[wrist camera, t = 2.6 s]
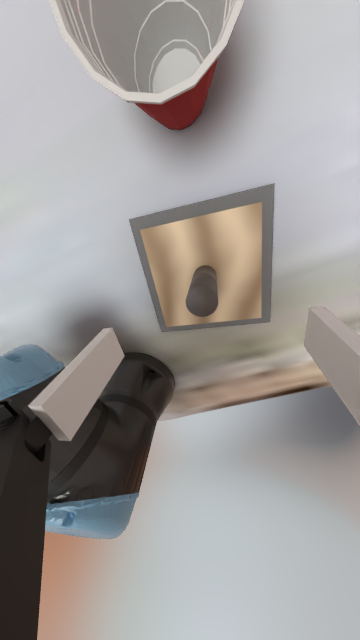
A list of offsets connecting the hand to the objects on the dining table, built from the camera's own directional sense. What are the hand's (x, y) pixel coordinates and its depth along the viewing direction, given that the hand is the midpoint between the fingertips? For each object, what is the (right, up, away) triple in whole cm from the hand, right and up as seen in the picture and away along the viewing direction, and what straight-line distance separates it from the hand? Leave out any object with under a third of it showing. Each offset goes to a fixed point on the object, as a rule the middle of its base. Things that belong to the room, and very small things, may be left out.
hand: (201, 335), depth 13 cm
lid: (+2, +8, +14) cm, 16 cm away
